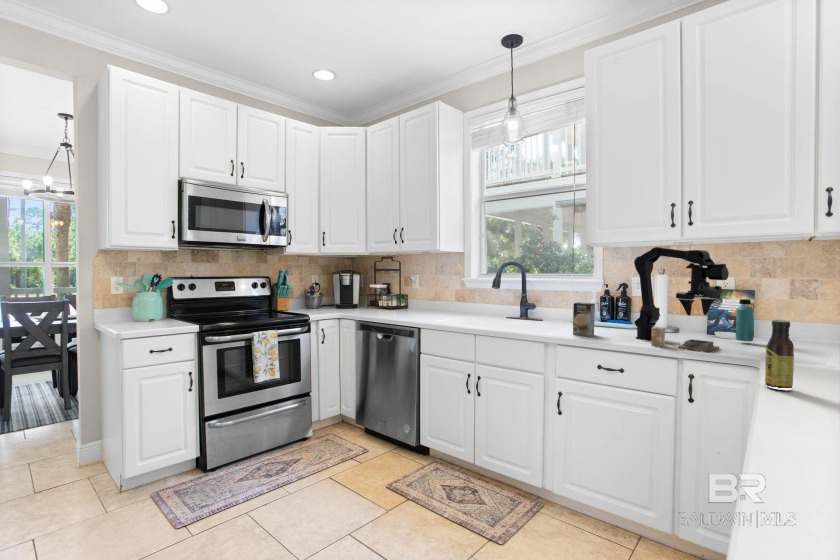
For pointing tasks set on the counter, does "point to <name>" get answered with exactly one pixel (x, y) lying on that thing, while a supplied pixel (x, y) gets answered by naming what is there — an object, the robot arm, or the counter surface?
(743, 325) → the beverage bottle
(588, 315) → the coffee box
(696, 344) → the socket holder
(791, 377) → the sauce bottle
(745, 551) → the counter surface
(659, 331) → the maple peg
